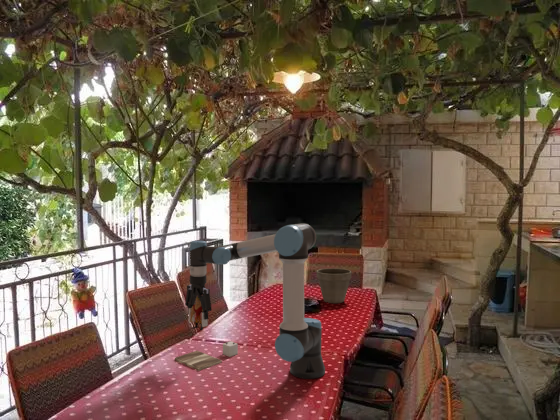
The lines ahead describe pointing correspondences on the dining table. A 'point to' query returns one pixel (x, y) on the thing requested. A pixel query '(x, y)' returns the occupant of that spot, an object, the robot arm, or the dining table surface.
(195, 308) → the action figure
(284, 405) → the dining table surface
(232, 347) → the die
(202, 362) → the board
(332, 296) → the plant pot
